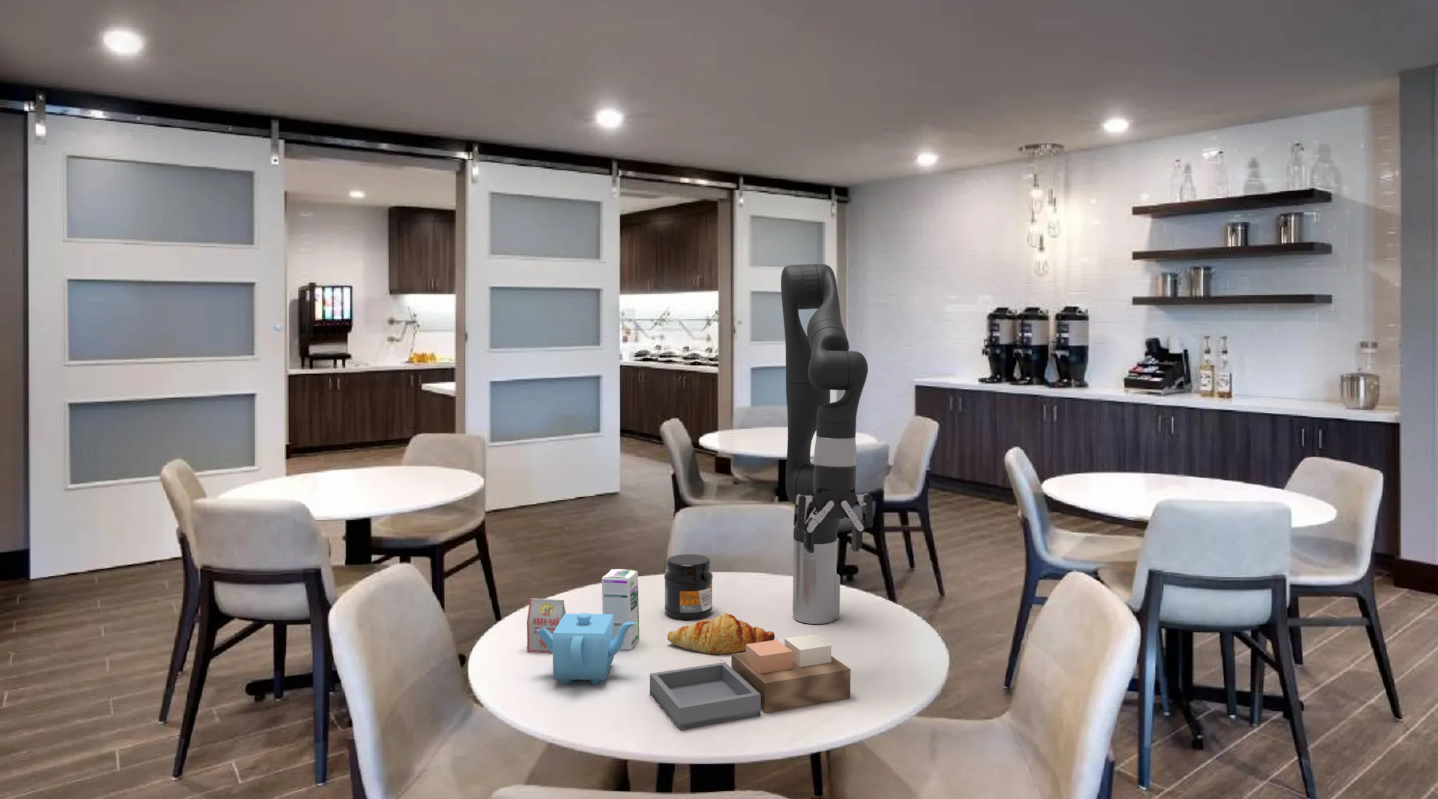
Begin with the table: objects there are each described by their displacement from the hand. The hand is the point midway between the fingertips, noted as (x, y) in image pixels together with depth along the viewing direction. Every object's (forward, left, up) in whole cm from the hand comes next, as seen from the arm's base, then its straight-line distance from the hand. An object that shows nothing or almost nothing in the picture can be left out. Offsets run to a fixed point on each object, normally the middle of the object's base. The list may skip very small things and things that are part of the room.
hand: (832, 551), depth 164 cm
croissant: (+14, -20, -23) cm, 33 cm away
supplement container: (+13, -41, -23) cm, 48 cm away
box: (+27, +4, -22) cm, 35 cm away
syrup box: (+32, -28, -23) cm, 48 cm away
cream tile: (+7, +4, -17) cm, 19 cm away
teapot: (+42, -15, -23) cm, 50 cm away
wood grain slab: (+11, +4, -22) cm, 25 cm away
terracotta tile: (+15, +4, -17) cm, 23 cm away
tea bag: (+46, -31, -23) cm, 59 cm away
